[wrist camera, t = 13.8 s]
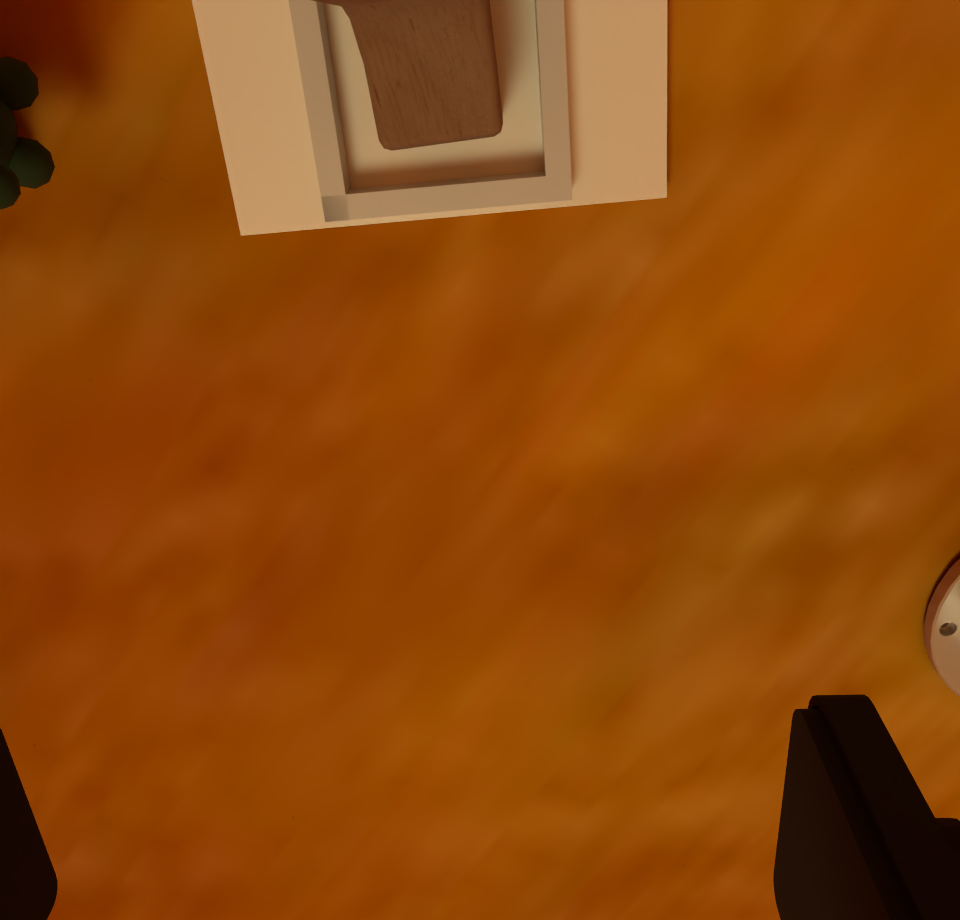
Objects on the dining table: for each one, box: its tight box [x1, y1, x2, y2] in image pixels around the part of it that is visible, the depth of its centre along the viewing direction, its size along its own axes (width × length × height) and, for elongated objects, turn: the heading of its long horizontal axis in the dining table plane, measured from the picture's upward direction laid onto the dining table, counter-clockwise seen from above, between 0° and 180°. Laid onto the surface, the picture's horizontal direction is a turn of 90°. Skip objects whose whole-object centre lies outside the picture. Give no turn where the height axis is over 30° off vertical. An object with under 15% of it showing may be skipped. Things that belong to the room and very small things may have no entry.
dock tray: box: [192, 0, 667, 236], centre depth 33 cm, size 18×16×2 cm
